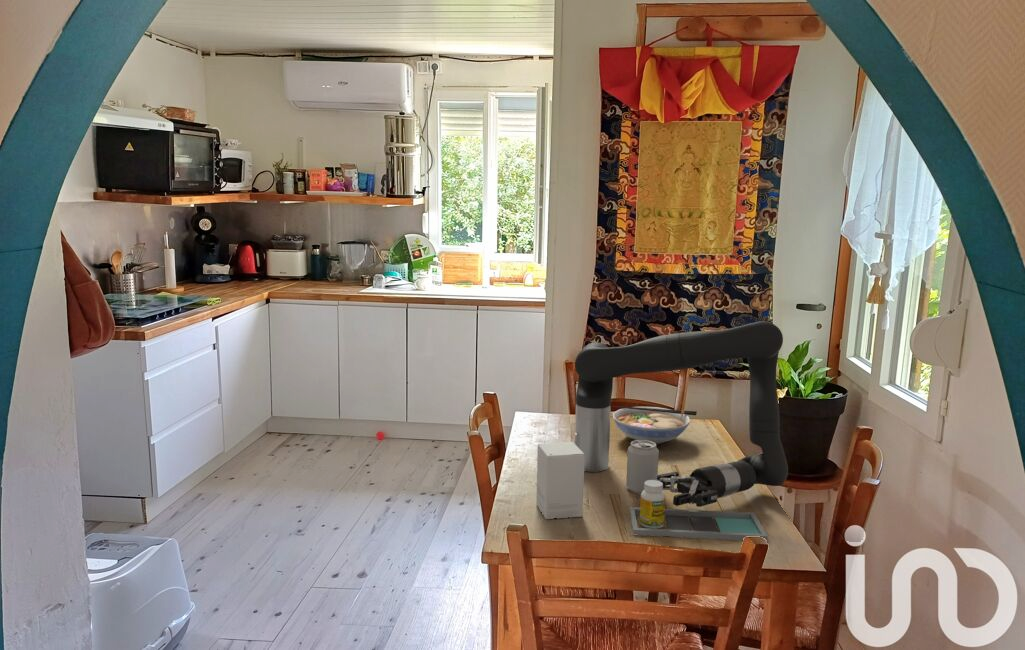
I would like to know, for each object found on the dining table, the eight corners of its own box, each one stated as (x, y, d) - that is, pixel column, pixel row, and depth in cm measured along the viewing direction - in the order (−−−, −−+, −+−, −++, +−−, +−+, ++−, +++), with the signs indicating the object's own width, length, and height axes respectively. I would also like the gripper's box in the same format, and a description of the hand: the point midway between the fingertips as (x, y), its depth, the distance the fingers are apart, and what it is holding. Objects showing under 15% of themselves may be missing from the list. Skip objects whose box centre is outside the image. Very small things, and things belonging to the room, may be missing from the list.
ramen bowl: (600, 447, 217) (601, 420, 216) (615, 425, 239) (616, 400, 237) (689, 458, 209) (690, 429, 208) (696, 434, 231) (697, 408, 229)
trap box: (633, 535, 161) (633, 529, 161) (629, 512, 173) (629, 507, 172) (767, 541, 159) (767, 536, 158) (753, 517, 170) (754, 512, 170)
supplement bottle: (652, 517, 170) (654, 476, 168) (669, 526, 166) (671, 484, 164) (634, 522, 167) (636, 481, 165) (651, 531, 163) (653, 489, 161)
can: (638, 497, 181) (640, 449, 179) (620, 487, 188) (621, 440, 186) (663, 492, 184) (665, 445, 182) (644, 482, 191) (646, 436, 189)
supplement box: (583, 517, 169) (586, 453, 167) (545, 520, 168) (546, 456, 165) (572, 501, 178) (574, 440, 176) (535, 504, 176) (536, 442, 174)
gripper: (694, 456, 180) (641, 467, 172) (739, 476, 168) (684, 489, 160) (692, 486, 181) (639, 499, 173) (737, 508, 169) (682, 522, 161)
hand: (661, 494), depth 166 cm, fingers open, 8 cm apart
